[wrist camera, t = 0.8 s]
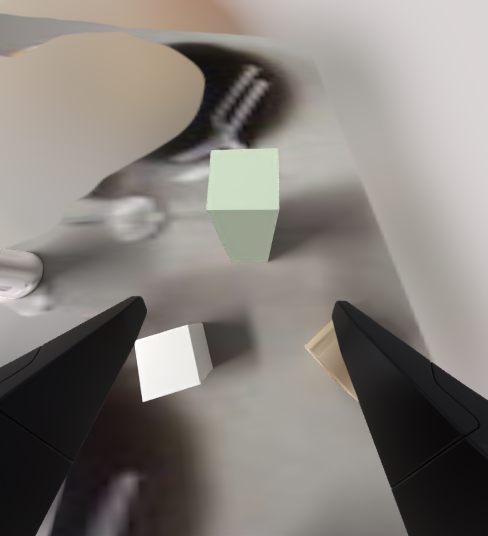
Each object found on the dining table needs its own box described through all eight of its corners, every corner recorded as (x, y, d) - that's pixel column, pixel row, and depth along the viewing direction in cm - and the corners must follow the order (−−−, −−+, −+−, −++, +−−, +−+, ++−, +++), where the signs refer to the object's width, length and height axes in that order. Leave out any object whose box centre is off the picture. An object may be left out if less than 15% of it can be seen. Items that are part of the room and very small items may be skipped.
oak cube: (371, 351, 21) (407, 362, 16) (339, 385, 20) (365, 408, 15) (335, 314, 22) (358, 315, 17) (303, 346, 21) (318, 355, 16)
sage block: (267, 261, 23) (279, 209, 12) (230, 261, 24) (206, 210, 12) (267, 227, 24) (278, 148, 13) (232, 227, 25) (211, 150, 13)
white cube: (213, 368, 21) (200, 384, 16) (169, 381, 21) (143, 401, 16) (202, 322, 22) (187, 324, 17) (160, 335, 22) (134, 340, 17)
